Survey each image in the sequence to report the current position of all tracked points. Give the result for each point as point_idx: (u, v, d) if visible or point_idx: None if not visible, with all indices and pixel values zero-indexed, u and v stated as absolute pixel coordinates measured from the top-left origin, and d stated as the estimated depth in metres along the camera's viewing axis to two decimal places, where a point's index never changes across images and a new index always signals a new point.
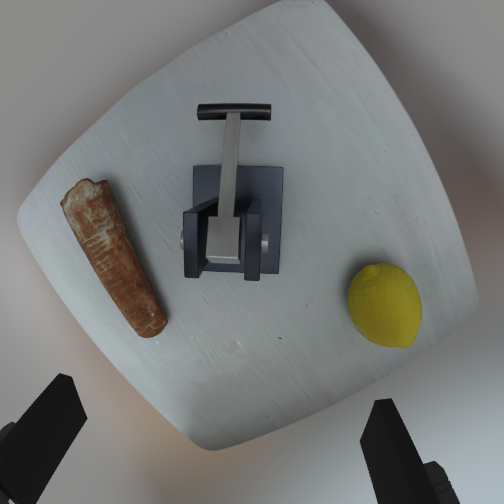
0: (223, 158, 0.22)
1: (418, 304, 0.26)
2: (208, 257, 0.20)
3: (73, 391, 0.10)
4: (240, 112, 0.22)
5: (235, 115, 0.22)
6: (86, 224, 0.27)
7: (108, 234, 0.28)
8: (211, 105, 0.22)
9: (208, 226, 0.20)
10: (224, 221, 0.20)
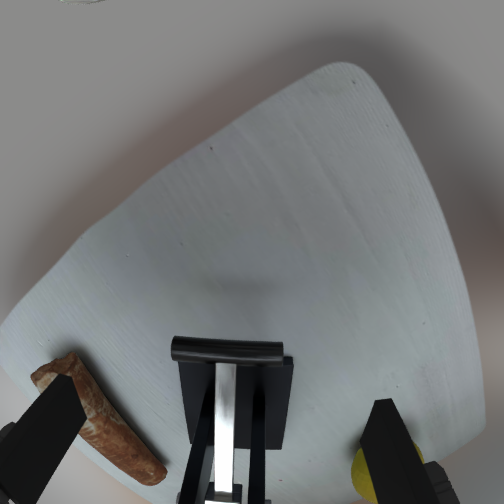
0: (215, 433, 0.14)
1: None
2: None
3: (73, 391, 0.10)
4: (236, 363, 0.15)
5: (228, 368, 0.15)
6: None
7: (91, 422, 0.21)
8: (191, 348, 0.15)
9: None
10: None
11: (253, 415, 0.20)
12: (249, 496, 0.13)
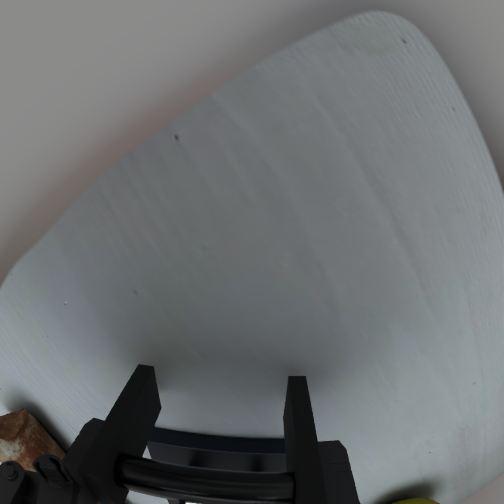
0: None
1: None
2: None
3: (153, 381, 0.12)
4: None
5: None
6: None
7: None
8: (144, 482, 0.07)
9: None
10: None
11: None
12: None
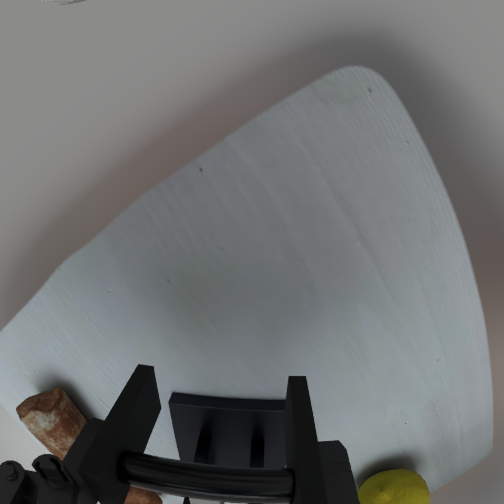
0: None
1: None
2: None
3: (153, 381, 0.12)
4: None
5: (209, 502, 0.08)
6: (53, 449, 0.17)
7: None
8: (147, 485, 0.07)
9: None
10: None
11: (251, 462, 0.17)
12: None
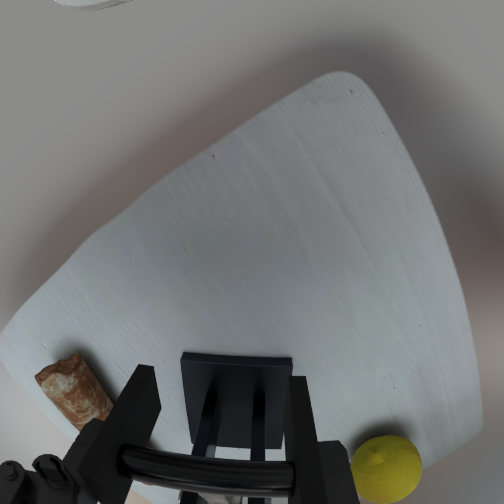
0: (206, 499, 0.10)
1: (418, 478, 0.20)
2: None
3: (153, 381, 0.12)
4: None
5: None
6: (69, 413, 0.20)
7: None
8: (148, 482, 0.07)
9: None
10: None
11: (253, 414, 0.21)
12: None
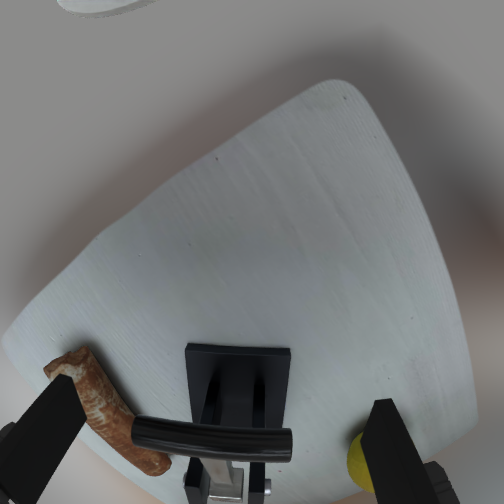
0: (210, 475, 0.12)
1: None
2: (215, 499, 0.16)
3: (73, 391, 0.11)
4: None
5: None
6: None
7: (102, 412, 0.23)
8: (160, 449, 0.09)
9: (210, 497, 0.15)
10: (225, 498, 0.14)
11: (254, 402, 0.23)
12: (250, 473, 0.15)
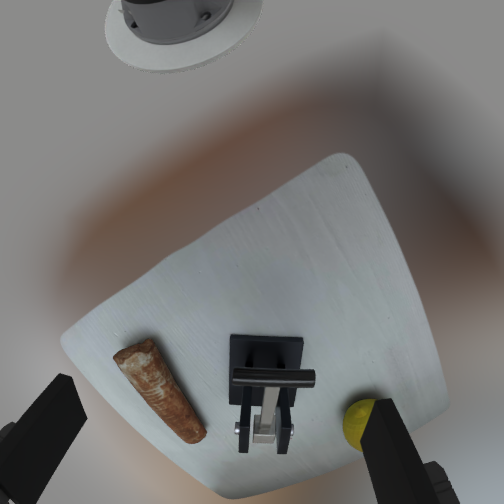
0: (263, 410, 0.23)
1: None
2: None
3: (73, 391, 0.11)
4: None
5: (275, 388, 0.21)
6: (143, 382, 0.33)
7: (162, 388, 0.34)
8: (248, 383, 0.20)
9: (254, 437, 0.26)
10: (265, 436, 0.26)
11: None
12: (281, 416, 0.27)
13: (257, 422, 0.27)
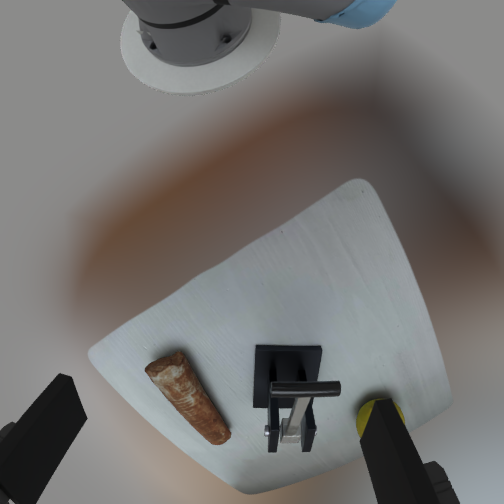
0: (293, 415, 0.26)
1: None
2: (281, 442, 0.30)
3: (73, 391, 0.11)
4: (311, 396, 0.24)
5: (306, 398, 0.24)
6: (175, 392, 0.36)
7: (192, 397, 0.37)
8: (284, 395, 0.23)
9: (282, 438, 0.29)
10: (292, 437, 0.29)
11: (300, 380, 0.37)
12: (306, 419, 0.30)
13: (285, 425, 0.30)
